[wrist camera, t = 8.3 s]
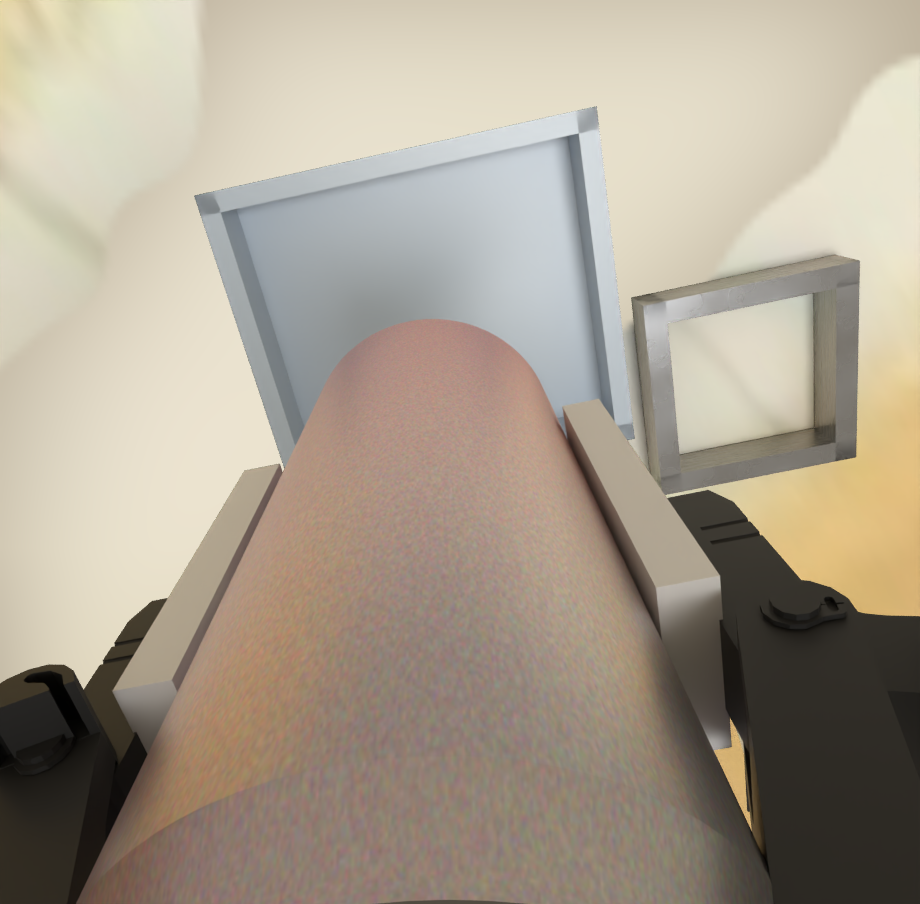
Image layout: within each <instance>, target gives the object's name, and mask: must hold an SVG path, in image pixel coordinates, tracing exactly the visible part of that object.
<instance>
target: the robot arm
mask: <svg viewBox="0 0 920 904" xmlns="http://www.w3.org/2000/svg"><path fill="white" fill-rule="evenodd" d="M562 408H563V415H564V421H565V428H566V434H567V440H568V442H569V444H570V446H571V448H572V450H573V453H574V455H575V457H576V459H577V461H578V463H579V465H580V467H581V470H582V472H583V474H584V476H585V478H586V480H587V482H588V484H589V487H590V489H591V491H592V493H593V495H594V497H595V499H596V501H597V504H598V506H599V508H600V510H601V512H602V514H603V516H604V518H605V521H606V523H607V525H608V527H609V529H610V531H611V533H612V535H613V538H614V540H615V542H616V544H617V546H618V548H619V550H620V553H621V555H622V557H623V559H624V561H625V563H626V565H627V567H628V570H629V572H630V574H631V576H632V578H633V580H634V582H635V584H636V587H637V589H638V591H639V593H640V595H641V597H642V599H643V601H644V604H645V606H646V608H647V610H648V612H649V614H650V616H651V618H652V621H653V623H654V625H655V627H656V629H657V631H658V633H659V635H660V638H661V640H662V642H663V644H664V646H665V648H666V650H667V652H668V655H669V657H670V659H671V661H672V663H673V665H674V667H675V669H676V672H677V674H678V676H679V678H680V680H681V682H682V684H683V686H684V689H685V691H686V693H687V695H688V697H689V699H690V701H691V704H692V706H693V708H694V710H695V712H696V714H697V716H698V718H699V721H700V723H701V725H702V727H703V729H704V731H705V733H706V735H707V738H708V740H709V742H710V744H711V746H712V748H713V750H717V749H723V748H729V747H732V745H731V731H730V718H731V720H732V722H733V724H734V726H735V727H736V729H737V731H738V733H739V735H740V737H741V739H742V741H743V745H744V762H745V779H746V796H747V811H748V812H750V818H751V827H752V833H753V835H754V837H755V840H756V842H757V844H758V846H759V848H760V850H761V852H762V855H763V857H764V859H765V861H766V864H767V868H768V872H769V876H770V880H771V883H772V893H773V903H774V904H920V616H886V615H875V614H865V613H861V612H858V611H857V610H856V609H855V607H854V606H853V605H852V603H851V602H850V600H849V599H848V598H847V597H845V596H844V595H842V594H840V593H839V592H837V591H836V590H834V589H832V588H831V587H827V586H824V585H821V584H818V583H815V582H811V581H804V580H801V579H800V578H799V577H798V576H797V575H796V574H795V572H794V571H793V570H792V569H791V568H790V567H789V565H788V564H787V563H786V562H785V561H784V560H783V559H782V557H781V556H780V555H779V554H778V553H777V552H776V551H775V549H774V548H773V547H772V546H771V545H770V544H769V542H768V541H767V540H766V539H765V538H764V537H763V536H762V535H761V536H760V534H759V531H758V530H757V529H756V528H755V526H754V525H753V524H752V523H751V522H748V519H747V517H746V516H745V515H744V514H743V513H742V511H741V510H740V509H739V508H738V507H737V506H736V505H735V503H734V502H733V501H730V500H728V499H726V498H724V497H722V496H720V495H718V494H716V493H714V492H711V491H709V490H706V491H701V492H696V493H691V494H686V495H680V496H675V497H670V498H666V496H665V495H664V493H663V492H662V490H661V489H660V487H659V486H658V484H657V483H656V482H655V480H654V479H653V477H652V476H651V474H650V473H649V471H648V470H647V468H646V467H645V465H644V464H643V463H642V461H641V460H640V458H639V457H638V455H637V454H636V452H635V451H634V449H633V448H632V446H631V445H630V444H629V442H628V441H627V439H626V438H625V436H624V435H623V433H622V432H621V430H620V429H619V427H618V426H617V425H616V423H615V422H614V420H613V419H612V417H611V416H610V414H609V413H608V411H607V410H606V408H605V407H604V406H603V404H602V403H601V401H600V400H599V399H595V400H590V401H585V402H580V403H575V404H570V405H565V406H562ZM282 473H283V472H282V469H281V466H280V464H275V465H270V466H265V467H260V468H256V469H251V470H245V471H244V472H243V474H242V476H241V477H240V479H239V481H238V482H237V484H236V486H235V488H234V489H233V491H232V492H231V494H230V496H229V497H228V499H227V501H226V502H225V504H224V506H223V507H222V509H221V511H220V512H219V514H218V516H217V517H216V519H215V521H214V522H213V524H212V526H211V527H210V529H209V531H208V532H207V534H206V536H205V537H204V539H203V541H202V542H201V544H200V546H199V548H198V549H197V551H196V552H195V554H194V556H193V557H192V559H191V561H190V562H189V564H188V566H187V567H186V569H185V571H184V573H183V574H182V576H181V578H180V579H179V581H178V582H177V584H176V586H175V587H174V589H173V591H172V592H171V594H170V596H169V597H168V598H166V599H160V600H156V601H152V602H150V603H149V604H148V605H147V606H146V607H145V608H144V609H142V610H141V611H140V612H139V613H138V614H137V615H135V616H134V617H133V618H132V619H131V620H130V621H129V622H128V623H127V624H126V626H125V628H124V629H123V631H122V632H121V634H120V635H119V637H118V638H117V640H116V641H115V647H111V649H110V651H109V652H108V654H107V655H106V656H105V658H104V660H103V664H102V665H100V666H99V667H98V669H97V670H96V672H95V673H94V675H93V676H92V678H91V679H90V681H89V682H88V684H87V686H86V687H85V689H84V690H83V688H82V686H81V684H80V683H79V681H78V679H77V677H76V675H75V673H74V671H73V670H72V669H70V668H68V667H67V666H65V665H45V666H41V667H38V668H33V669H30V670H27V671H24V672H22V673H20V674H18V675H15V676H13V677H11V678H9V679H7V680H5V681H3V682H2V683H0V904H76V903H77V901H78V899H79V897H80V894H81V892H82V890H83V888H84V886H85V884H86V882H87V880H88V878H89V876H90V874H91V872H92V869H93V867H94V865H95V863H96V861H97V859H98V857H99V855H100V853H101V851H102V849H103V846H104V844H105V842H106V840H107V838H108V836H109V834H110V832H111V830H112V828H113V826H114V824H115V821H116V819H117V817H118V815H119V813H120V811H121V809H122V807H123V805H124V803H125V801H126V798H127V796H128V794H129V792H130V790H131V788H132V786H133V784H134V782H135V780H136V778H137V776H138V773H139V771H140V769H141V767H142V765H143V763H144V761H145V759H146V757H147V755H148V753H149V750H150V748H151V746H152V744H153V742H154V740H155V738H156V736H157V734H158V732H159V730H160V728H161V725H162V723H163V721H164V719H165V717H166V715H167V713H168V711H169V709H170V707H171V705H172V702H173V700H174V698H175V696H176V694H177V692H178V690H179V688H180V686H181V684H182V682H183V680H184V677H185V675H186V673H187V671H188V669H189V667H190V665H191V663H192V661H193V659H194V657H195V654H196V652H197V650H198V648H199V646H200V644H201V642H202V640H203V638H204V636H205V634H206V632H207V629H208V627H209V625H210V623H211V621H212V619H213V617H214V615H215V613H216V611H217V609H218V606H219V604H220V602H221V600H222V598H223V596H224V594H225V592H226V590H227V588H228V586H229V584H230V581H231V579H232V577H233V575H234V573H235V571H236V569H237V567H238V565H239V563H240V561H241V558H242V556H243V554H244V552H245V550H246V548H247V546H248V544H249V542H250V540H251V538H252V536H253V533H254V531H255V529H256V527H257V525H258V523H259V521H260V519H261V517H262V515H263V513H264V510H265V508H266V506H267V504H268V502H269V500H270V498H271V496H272V494H273V492H274V490H275V488H276V485H277V483H278V481H279V479H280V477H281V475H282Z"/></svg>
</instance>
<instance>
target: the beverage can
mask: <svg viewBox="0 0 920 904" xmlns="http://www.w3.org/2000/svg"><path fill="white" fill-rule="evenodd" d="M76 904H774V903H773V893H772V883H771V880H770V876H769V872H768V868H767V864H766V861H765V859H764V857H763V855H762V852H761V850H760V848H759V846H758V844H757V842H756V840H755V837H754V835H753V833H752V831H751V829H750V827H749V825H748V823H747V820H746V818H745V816H744V814H743V812H742V810H741V808H740V806H739V803H738V801H737V799H736V797H735V795H734V793H733V791H732V789H731V786H730V784H729V782H728V780H727V778H726V776H725V774H724V772H723V769H722V767H721V765H720V763H719V761H718V759H717V757H716V755H715V752H714V750H713V748H712V746H711V744H710V742H709V740H708V738H707V735H706V733H705V731H704V729H703V727H702V725H701V723H700V721H699V718H698V716H697V714H696V712H695V710H694V708H693V706H692V704H691V701H690V699H689V697H688V695H687V693H686V691H685V689H684V686H683V684H682V682H681V680H680V678H679V676H678V674H677V672H676V669H675V667H674V665H673V663H672V661H671V659H670V657H669V655H668V652H667V650H666V648H665V646H664V644H663V642H662V640H661V638H660V635H659V633H658V631H657V629H656V627H655V625H654V623H653V621H652V618H651V616H650V614H649V612H648V610H647V608H646V606H645V604H644V601H643V599H642V597H641V595H640V593H639V591H638V589H637V587H636V584H635V582H634V580H633V578H632V576H631V574H630V572H629V570H628V567H627V565H626V563H625V561H624V559H623V557H622V555H621V553H620V550H619V548H618V546H617V544H616V542H615V540H614V538H613V535H612V533H611V531H610V529H609V527H608V525H607V523H606V521H605V518H604V516H603V514H602V512H601V510H600V508H599V506H598V504H597V501H596V499H595V497H594V495H593V493H592V491H591V489H590V487H589V484H588V482H587V480H586V478H585V476H584V474H583V472H582V470H581V467H580V465H579V463H578V461H577V459H576V457H575V455H574V453H573V450H572V448H571V446H570V444H569V442H568V440H567V438H566V436H565V433H564V431H563V429H562V427H561V425H560V423H559V421H558V419H557V416H556V414H555V412H554V410H553V408H552V406H551V404H550V402H549V399H548V397H547V395H546V393H545V391H544V389H543V387H542V385H541V383H540V381H539V379H538V377H537V375H536V374H535V372H534V371H533V369H532V368H531V366H530V365H529V364H528V363H527V361H526V360H525V359H524V358H523V357H522V356H521V355H520V354H519V353H518V352H517V351H516V350H515V349H514V348H513V347H511V346H510V345H509V344H507V343H506V342H505V341H503V340H502V339H500V338H499V337H497V336H495V335H494V334H492V333H490V332H488V331H486V330H483V329H481V328H479V327H476V326H473V325H470V324H467V323H463V322H458V321H452V320H444V319H422V320H414V321H408V322H404V323H400V324H396V325H393V326H390V327H388V328H385V329H383V330H380V331H378V332H376V333H375V334H373V335H371V336H369V337H368V338H366V339H364V340H363V341H361V342H360V343H359V344H357V345H356V346H355V347H354V348H353V349H351V350H350V351H349V352H348V353H347V354H346V355H345V356H344V357H343V358H342V359H341V361H340V362H339V363H338V364H337V365H336V367H335V368H334V370H333V371H332V373H331V374H330V376H329V378H328V379H327V381H326V383H325V385H324V387H323V389H322V392H321V394H320V396H319V398H318V400H317V402H316V404H315V406H314V408H313V410H312V412H311V414H310V417H309V419H308V421H307V423H306V425H305V427H304V429H303V431H302V433H301V435H300V437H299V440H298V442H297V444H296V446H295V448H294V450H293V452H292V454H291V456H290V458H289V460H288V462H287V465H286V467H285V469H284V471H283V473H282V475H281V477H280V479H279V481H278V483H277V485H276V488H275V490H274V492H273V494H272V496H271V498H270V500H269V502H268V504H267V506H266V508H265V510H264V513H263V515H262V517H261V519H260V521H259V523H258V525H257V527H256V529H255V531H254V533H253V536H252V538H251V540H250V542H249V544H248V546H247V548H246V550H245V552H244V554H243V556H242V558H241V561H240V563H239V565H238V567H237V569H236V571H235V573H234V575H233V577H232V579H231V581H230V584H229V586H228V588H227V590H226V592H225V594H224V596H223V598H222V600H221V602H220V604H219V606H218V609H217V611H216V613H215V615H214V617H213V619H212V621H211V623H210V625H209V627H208V629H207V632H206V634H205V636H204V638H203V640H202V642H201V644H200V646H199V648H198V650H197V652H196V654H195V657H194V659H193V661H192V663H191V665H190V667H189V669H188V671H187V673H186V675H185V677H184V680H183V682H182V684H181V686H180V688H179V690H178V692H177V694H176V696H175V698H174V700H173V702H172V705H171V707H170V709H169V711H168V713H167V715H166V717H165V719H164V721H163V723H162V725H161V728H160V730H159V732H158V734H157V736H156V738H155V740H154V742H153V744H152V746H151V748H150V750H149V753H148V755H147V757H146V759H145V761H144V763H143V765H142V767H141V769H140V771H139V773H138V776H137V778H136V780H135V782H134V784H133V786H132V788H131V790H130V792H129V794H128V796H127V798H126V801H125V803H124V805H123V807H122V809H121V811H120V813H119V815H118V817H117V819H116V821H115V824H114V826H113V828H112V830H111V832H110V834H109V836H108V838H107V840H106V842H105V844H104V846H103V849H102V851H101V853H100V855H99V857H98V859H97V861H96V863H95V865H94V867H93V869H92V872H91V874H90V876H89V878H88V880H87V882H86V884H85V886H84V888H83V890H82V892H81V894H80V897H79V899H78V901H77V903H76Z"/></svg>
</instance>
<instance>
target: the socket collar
mask: <svg viewBox="0 0 920 904" xmlns="http://www.w3.org/2000/svg"><path fill="white" fill-rule="evenodd" d="M859 276H860V261H859V260H855V259H851V258H847V257H842V256H838V255H832V256H827V257H823V258H818V259H813V260H808V261H804V262H799V263H794V264H789V265H785V266H780V267H775V268H770V269H766V270H761V271H756V272H751V273H746V274H742V275H737V276H732V277H727V278H723V279H718V280H713V281H708V282H704V283H699V284H694V285H689V286H685V287H680V288H676V289H670V290H665V291H661V292H656V293H651V294H646V295H642V296H637V297H632V298H631V299H632V309H633V319H634V328H635V337H636V346H637V356H638V365H639V374H640V384H641V393H642V402H643V412H644V421H645V430H646V440H647V449H648V458H649V467H650V474H651V476H652V477H653V479H654V480H655V482H656V483H657V484H658V486H659V487H660V489H661V490H662V492H663V493H664V495H667V494H672V493H677V492H682V491H687V490H692V489H697V488H702V487H707V486H713V485H718V484H723V483H728V482H733V481H738V480H743V479H748V478H753V477H758V476H763V475H768V474H773V473H779V472H784V471H789V470H794V469H799V468H804V467H809V466H814V465H819V464H824V463H829V462H834V461H839V460H844V459H850V458H855V457H856V436H857V383H858V329H859ZM811 293H814V391H815V428H812V429H807V430H802V431H797V432H792V433H787V434H782V435H777V436H772V437H767V438H762V439H757V440H752V441H747V442H742V443H737V444H732V445H727V446H722V447H717V448H712V449H707V450H702V451H697V452H692V453H687V454H682V455H679V446H678V435H677V423H676V412H675V401H674V390H673V378H672V367H671V356H670V344H669V333H668V323H672V322H676V321H681V320H686V319H691V318H696V317H701V316H705V315H710V314H715V313H720V312H725V311H729V310H734V309H739V308H744V307H749V306H754V305H758V304H763V303H768V302H773V301H778V300H782V299H787V298H792V297H797V296H802V295H806V294H811Z"/></svg>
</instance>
